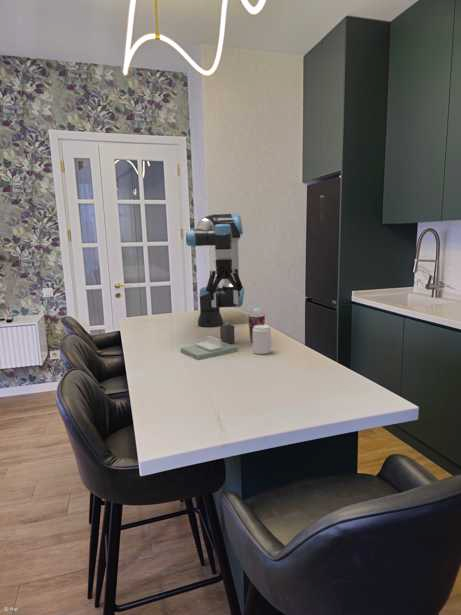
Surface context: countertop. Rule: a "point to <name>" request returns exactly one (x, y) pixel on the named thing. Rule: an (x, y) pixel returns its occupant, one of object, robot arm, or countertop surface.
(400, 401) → the countertop surface
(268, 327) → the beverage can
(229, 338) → the plug
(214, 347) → the panel
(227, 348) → the socket plate
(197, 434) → the countertop surface
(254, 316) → the smoothie
